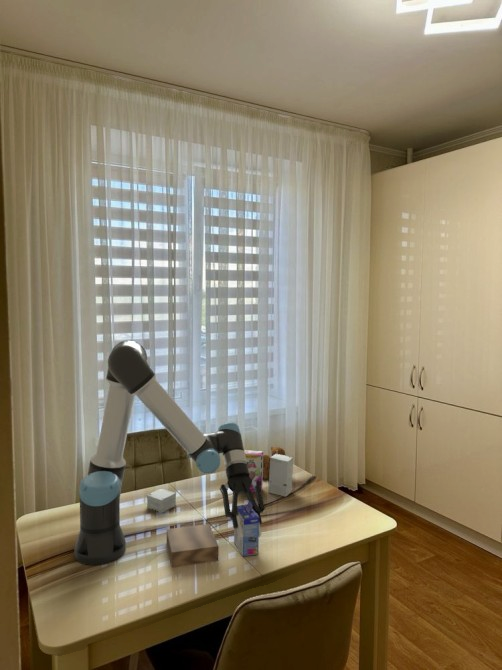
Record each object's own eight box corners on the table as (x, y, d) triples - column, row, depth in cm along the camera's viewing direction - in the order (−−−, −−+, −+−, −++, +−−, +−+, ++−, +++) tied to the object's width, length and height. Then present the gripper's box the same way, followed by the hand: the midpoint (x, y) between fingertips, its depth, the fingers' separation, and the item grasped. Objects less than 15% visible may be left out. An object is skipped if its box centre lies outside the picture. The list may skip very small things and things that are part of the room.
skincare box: (268, 492, 191) (268, 457, 189) (274, 487, 196) (275, 452, 195) (287, 497, 187) (287, 461, 186) (292, 491, 192) (293, 456, 191)
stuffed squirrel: (291, 480, 204) (291, 450, 203) (259, 482, 201) (260, 452, 200) (284, 471, 214) (284, 443, 213) (254, 474, 211) (254, 445, 210)
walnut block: (171, 568, 138) (171, 552, 138) (166, 544, 152) (166, 529, 151) (218, 561, 142) (218, 546, 142) (209, 538, 156) (209, 523, 155)
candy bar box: (234, 492, 191) (234, 453, 189) (235, 487, 195) (236, 449, 194) (261, 494, 189) (262, 454, 188) (262, 489, 194) (263, 450, 193)
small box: (176, 506, 178) (176, 492, 178) (161, 513, 172) (161, 500, 171) (161, 500, 183) (161, 487, 182) (146, 507, 176) (146, 494, 176)
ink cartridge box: (259, 554, 146) (259, 509, 144) (242, 557, 144) (242, 512, 142) (249, 538, 155) (249, 496, 154) (233, 541, 153) (233, 498, 152)
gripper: (259, 468, 165) (274, 536, 151) (207, 473, 159) (219, 545, 145) (264, 459, 160) (281, 528, 145) (211, 464, 154) (223, 537, 140)
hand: (250, 536), depth 145 cm, fingers closed on ink cartridge box, 5 cm apart
